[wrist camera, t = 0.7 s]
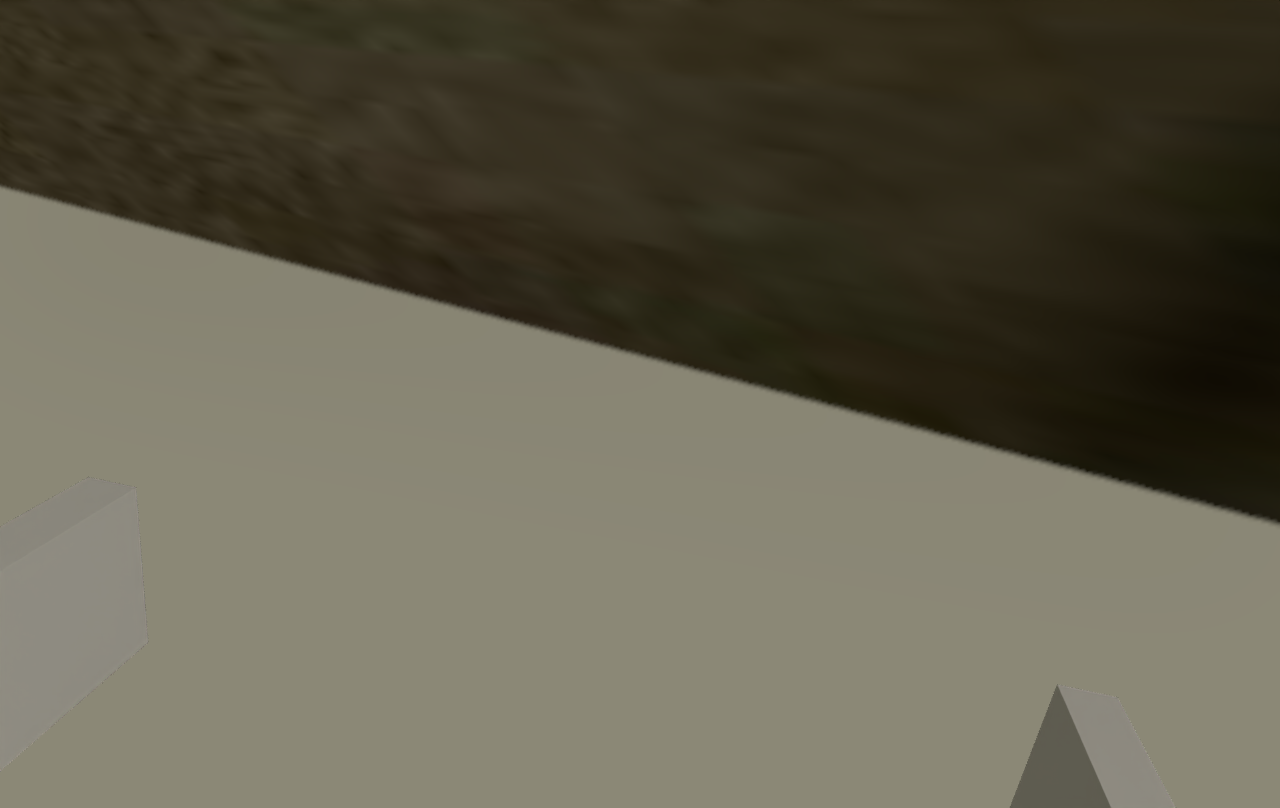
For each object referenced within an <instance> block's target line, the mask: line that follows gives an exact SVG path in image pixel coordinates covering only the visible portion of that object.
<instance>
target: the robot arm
mask: <svg viewBox="0 0 1280 808" xmlns="http://www.w3.org/2000/svg"><path fill="white" fill-rule="evenodd" d="M141 556H142V555H141V543H140V530H139V518H138V504H137V491H136V487H133V486H128V485H124V484H119V483H114V482H110V481H105V480H101V479H95V478H91V477H87V478H86V479H84V480H82V481H80V482H78V483H77V484H75V485H73V486H71V487H70V488H68V489H66V490H64V491H62V492H61V493H59V494H57V495H55V496H53V497H52V498H50V499H48V500H46V501H45V502H43V503H41V504H39V505H37V506H36V507H34V508H32V509H30V510H28V511H27V512H25V513H23V514H21V515H20V516H18V517H16V518H14V519H12V520H11V521H9V522H7V523H5V524H4V525H2V526H0V771H1V770H2V769H3V768H4V767H6V766H7V765H8V764H9V763H10V762H11V761H12V760H14V759H15V758H16V757H17V756H18V755H19V754H21V753H22V752H23V751H24V750H25V749H26V748H27V747H29V746H30V745H31V744H32V743H33V742H34V741H36V740H37V739H38V738H39V737H40V736H41V735H42V734H43V733H45V732H46V731H47V730H48V729H49V728H50V727H52V726H53V725H54V724H55V723H56V722H57V721H59V720H60V719H61V718H62V717H63V716H64V715H65V714H66V713H68V712H69V711H70V710H71V709H72V708H73V707H75V706H76V705H77V704H78V703H79V702H80V701H81V700H83V699H84V698H85V697H86V696H87V695H88V694H90V693H91V692H92V691H93V690H94V689H95V688H96V687H98V686H99V685H100V684H101V683H102V682H103V681H104V680H106V679H107V678H108V677H109V676H110V675H111V674H113V673H114V672H115V671H116V670H117V669H118V668H120V667H121V666H122V665H123V664H124V663H125V662H126V661H128V660H129V659H130V658H131V657H132V656H133V655H134V654H135V653H137V652H138V651H139V650H140V649H141V648H142V647H144V646H145V645H146V644H147V643H148V633H147V620H146V609H145V608H146V607H145V594H144V581H143V568H142V557H141ZM1010 808H1176V807H1175V806H1174V804H1173V802H1172V800H1171V798H1170V796H1169V794H1168V792H1167V791H1166V788H1165V787H1164V785H1163V783H1162V781H1161V779H1160V777H1159V775H1158V773H1157V771H1156V769H1155V767H1154V765H1153V764H1152V762H1151V760H1150V758H1149V756H1148V754H1147V752H1146V750H1145V748H1144V746H1143V745H1142V743H1141V741H1140V739H1139V737H1138V735H1137V733H1136V731H1135V729H1134V727H1133V725H1132V724H1131V722H1130V720H1129V718H1128V716H1127V714H1126V712H1125V710H1124V708H1123V706H1122V705H1121V703H1120V701H1119V699H1118V697H1114V696H1110V695H1105V694H1100V693H1096V692H1091V691H1086V690H1082V689H1077V688H1072V687H1068V686H1063V685H1057V686H1056V689H1055V692H1054V694H1053V697H1052V699H1051V702H1050V704H1049V707H1048V710H1047V712H1046V715H1045V717H1044V720H1043V723H1042V725H1041V728H1040V730H1039V733H1038V736H1037V738H1036V741H1035V743H1034V746H1033V749H1032V751H1031V754H1030V757H1029V759H1028V762H1027V764H1026V767H1025V770H1024V772H1023V775H1022V777H1021V780H1020V783H1019V785H1018V788H1017V790H1016V793H1015V796H1014V798H1013V801H1012V804H1011V806H1010Z"/></svg>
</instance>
